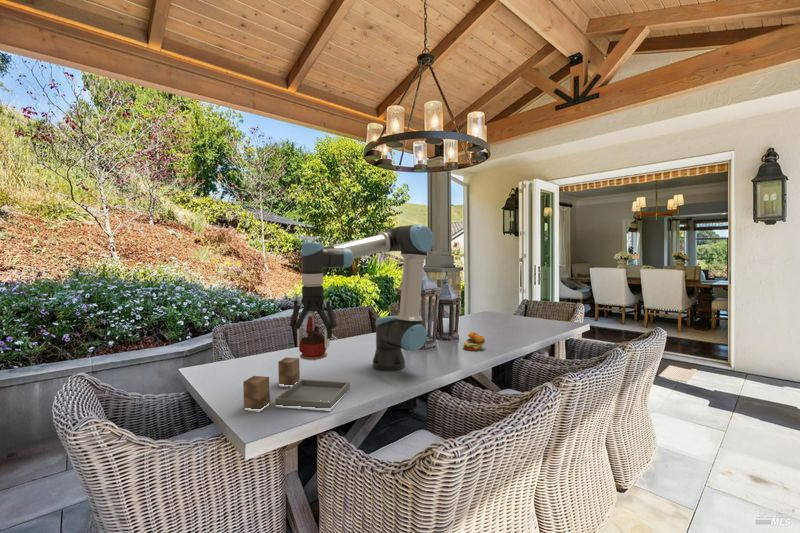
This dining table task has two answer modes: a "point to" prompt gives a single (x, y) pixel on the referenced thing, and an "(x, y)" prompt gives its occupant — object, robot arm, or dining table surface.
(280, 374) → the right walnut block
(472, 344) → the cheeseburger
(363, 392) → the dining table surface
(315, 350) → the cake
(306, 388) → the tray
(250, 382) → the left walnut block
